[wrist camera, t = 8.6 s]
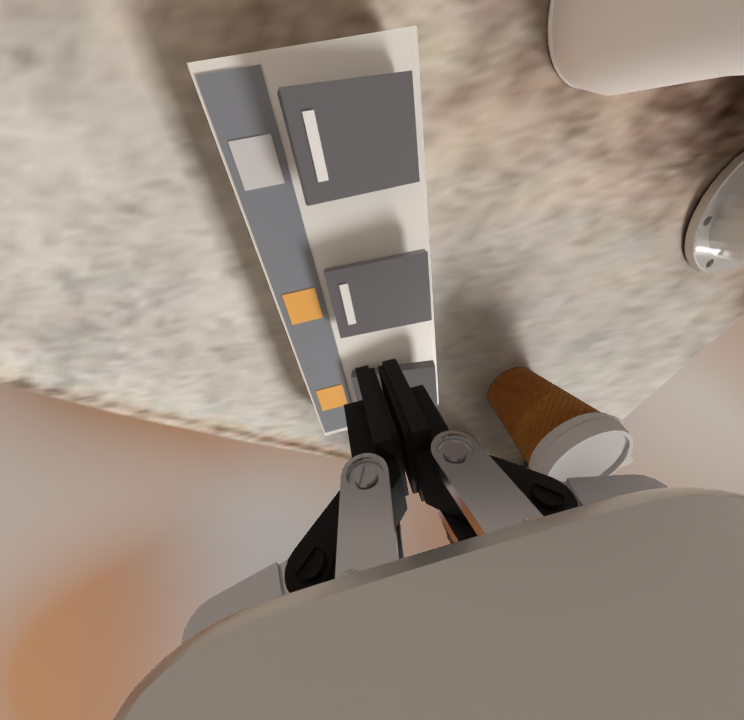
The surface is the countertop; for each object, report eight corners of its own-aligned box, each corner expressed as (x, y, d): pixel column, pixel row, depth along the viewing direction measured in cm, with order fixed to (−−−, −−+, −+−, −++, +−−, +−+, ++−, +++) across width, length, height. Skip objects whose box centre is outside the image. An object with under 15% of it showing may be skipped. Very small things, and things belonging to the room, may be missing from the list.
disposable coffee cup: (532, 340, 33) (631, 407, 23) (554, 387, 38) (644, 460, 28) (462, 388, 35) (527, 471, 25) (492, 428, 40) (557, 510, 30)
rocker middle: (423, 248, 20) (428, 252, 19) (428, 314, 23) (432, 320, 22) (324, 268, 20) (323, 273, 19) (340, 332, 23) (340, 339, 22)
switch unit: (396, 54, 19) (421, 19, 15) (425, 382, 33) (441, 409, 29) (208, 85, 18) (181, 57, 14) (322, 409, 32) (325, 441, 28)
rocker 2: (433, 359, 25) (435, 367, 24) (435, 404, 27) (438, 412, 26) (351, 370, 25) (350, 378, 24) (362, 412, 28) (361, 420, 27)
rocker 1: (403, 76, 16) (412, 69, 15) (412, 182, 19) (420, 181, 18) (277, 93, 14) (279, 86, 14) (306, 205, 17) (309, 205, 16)
